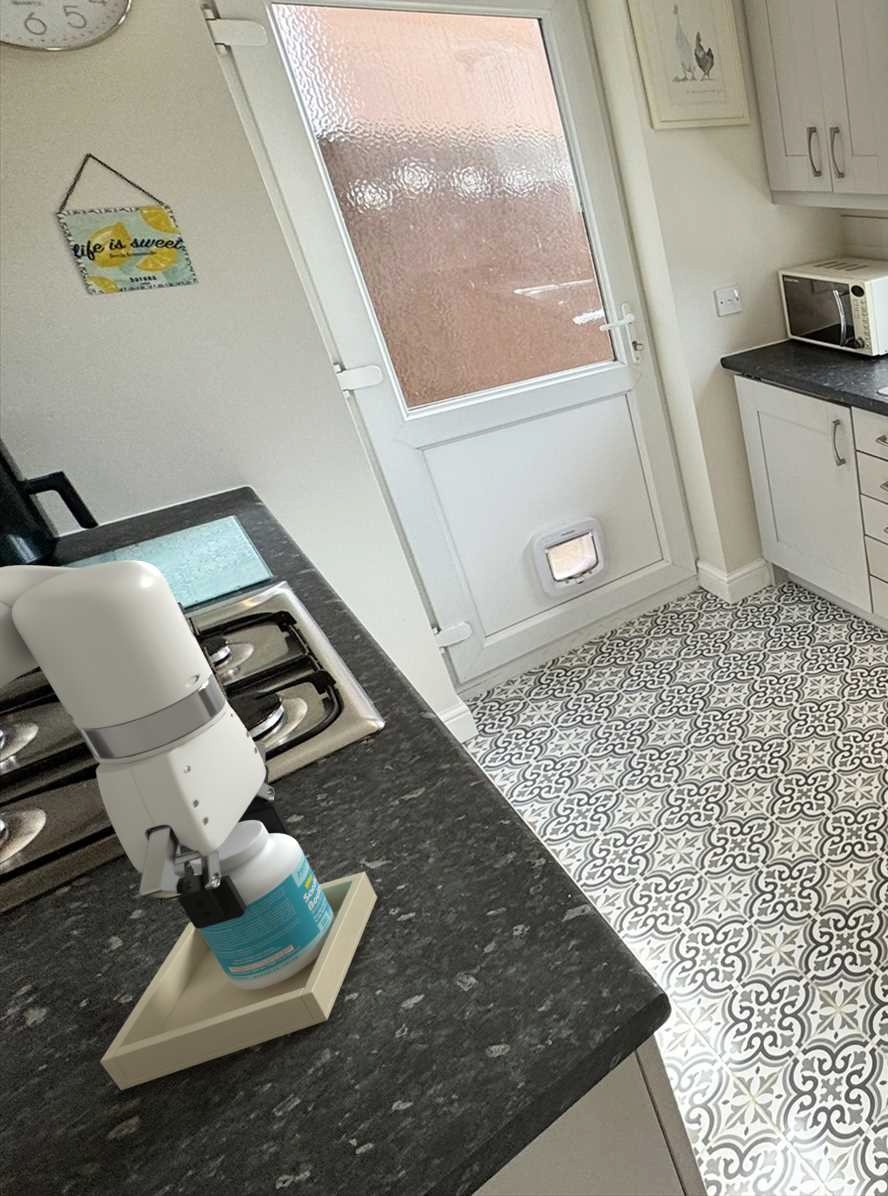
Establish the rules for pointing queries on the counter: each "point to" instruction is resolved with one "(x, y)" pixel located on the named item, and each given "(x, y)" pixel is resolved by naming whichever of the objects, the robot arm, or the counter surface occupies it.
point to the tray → (233, 998)
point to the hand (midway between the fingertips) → (246, 878)
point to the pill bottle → (268, 908)
